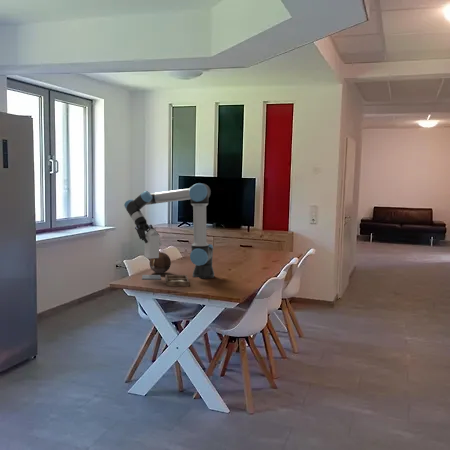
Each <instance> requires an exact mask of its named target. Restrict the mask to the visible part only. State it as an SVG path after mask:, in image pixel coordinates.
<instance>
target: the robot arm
mask: <svg viewBox="0 0 450 450" xmlns="http://www.w3.org/2000/svg"><path fill="white" fill-rule="evenodd" d="M211 192H212V191H211V188H210V186H209V185H207V183H201V182H198V183H195V184H193V185H191V186H190V187H189V188H183V189H182V188H181V189H174V190H167V191H166V190H165V191H159V192H152V193H151V192H149V191H147V190H144V191H143V192H141V193H140V194H139V195H138V196H137V197H135V199H128V200H126V201H125V202H124V203H123V204H124V205H123V206H124V208H125V209H126V212H127V214H128V215H129V216H130V218H131V220H132V221H133V222H134V225H135V227H134V229H135V230H136V233H137V235H138V237H139V239H140V240H141V241H144V244H145V243H146V244H147V246H148V247H149V248H150V247H151V243H150V241H149V240H148V238H147V237H146V236H145V234H146V233H147V232H148V231H149V230H150V229H155V228H154V226H153V225H152V224H148V221H147V218H145V216H144V215H143V213H142V211H141V209H143V208H144V207H145V206H147V205H155V204H163V203H170V202H179V201H187V200H188V201H189V200H190V205H191V206H192V210H193V212H192V213H193V216H192V217H193V219H192V220H193V221H192V223H193V243H191V251H190V253H189V260H190V261H191V263H192V264H194V269H193V272H192V277H193V278H199V279H213V278H215V271H214V267H213V255H214V254H213V253H214V246H213V244H210V243H208V242H207V206H208V205H209V198H210V197H211V194H212V193H211ZM155 231H156V232H157V234H158V235H159V236H160V234H159V232H158V231H157V230H156V229H155ZM162 245H163V243H162V242H161V239H160V238H159V248H160V247H161V246H162Z"/></svg>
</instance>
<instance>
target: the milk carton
mask: <svg viewBox="0 0 450 450" xmlns="http://www.w3.org/2000/svg"><path fill="white" fill-rule="evenodd" d="M148 230H149V229H148ZM155 230H156V229H155V228H154V229H150V230H149V231H148V232H145V236H146V237H147V238H148V240H149V241H150V243H151V247H150V248H149V247H148V246H147V244H146V243H145V242H144V255H143V256H144V258H145V259H149V260H150V258H159V252H160V247H159V239H160V234H159V233H158V231H157V230H156V231H157V232H156V231H155ZM157 233H158V234H159V235H158V234H157Z"/></svg>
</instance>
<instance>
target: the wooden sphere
mask: <svg viewBox="0 0 450 450" xmlns="http://www.w3.org/2000/svg"><path fill="white" fill-rule="evenodd" d="M171 265H172V262H171V258H170V256H169V255H168V254H166V253H165V252H162V251H159V258H150V259H149V267H150V269H151V270H152V271H153V272H154V273H156V274H165V273H166V272H168V270H169V269H170V268H171Z"/></svg>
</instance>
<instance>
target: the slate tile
mask: <svg viewBox="0 0 450 450" xmlns="http://www.w3.org/2000/svg"><path fill="white" fill-rule="evenodd" d="M161 279H162V278H161V274H142V275H141V280H142V281H143V280H146V281H147V280H148V281H151V280H155V281H157V280H158V281H159V280H161Z"/></svg>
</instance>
